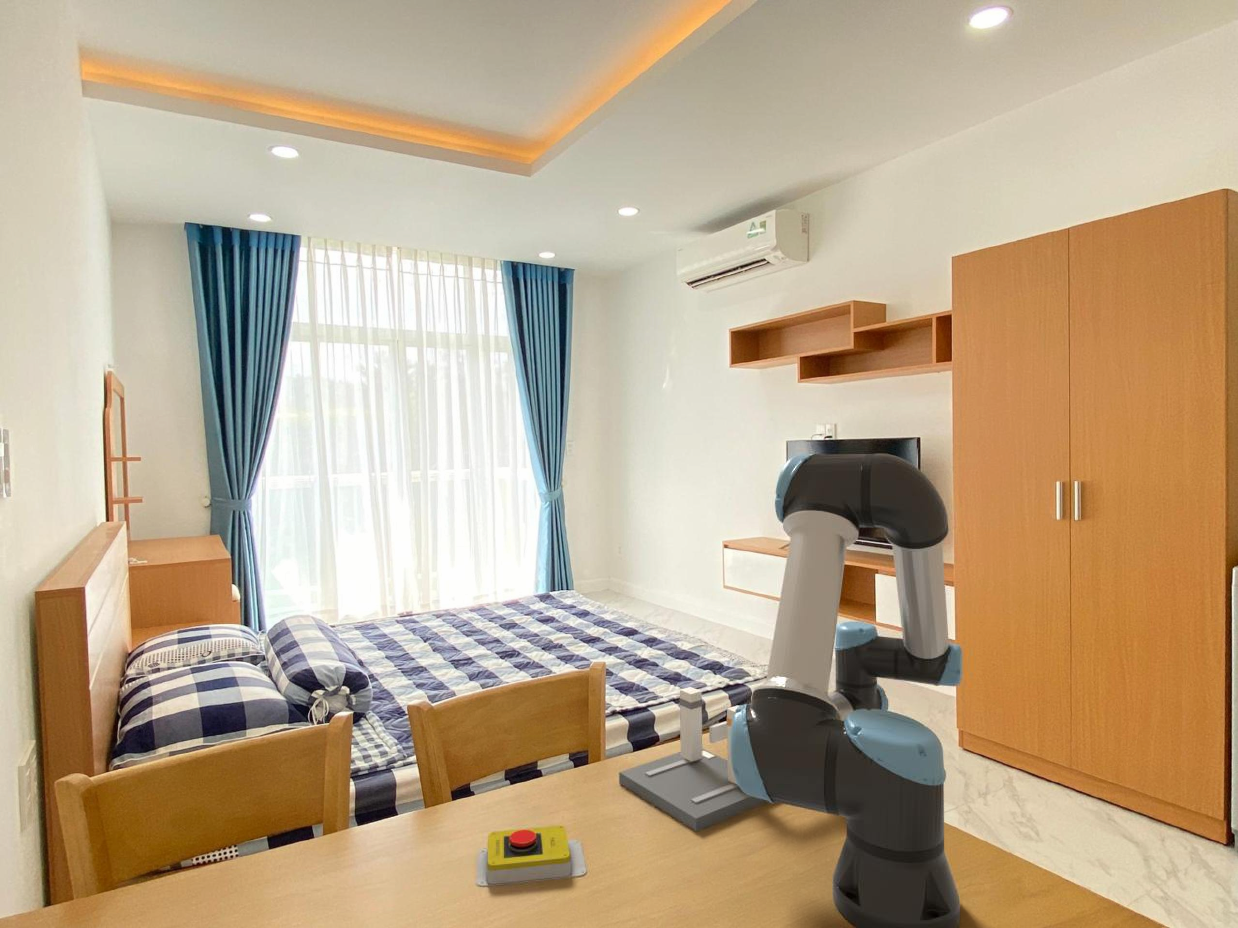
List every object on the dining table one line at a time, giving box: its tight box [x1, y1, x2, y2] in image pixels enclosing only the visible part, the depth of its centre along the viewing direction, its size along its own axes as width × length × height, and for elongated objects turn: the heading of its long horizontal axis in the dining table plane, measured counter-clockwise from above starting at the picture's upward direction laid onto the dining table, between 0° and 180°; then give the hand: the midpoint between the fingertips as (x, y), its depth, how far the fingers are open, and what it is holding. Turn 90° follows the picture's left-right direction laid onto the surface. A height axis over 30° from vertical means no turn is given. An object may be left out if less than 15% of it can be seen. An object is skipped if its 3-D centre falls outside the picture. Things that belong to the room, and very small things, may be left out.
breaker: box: [679, 686, 703, 762], centre depth 134 cm, size 3×3×12 cm
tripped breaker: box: [726, 704, 740, 785], centre depth 125 cm, size 3×3×12 cm
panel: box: [618, 748, 769, 832], centre depth 127 cm, size 18×20×2 cm
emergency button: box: [475, 824, 587, 888], centre depth 107 cm, size 9×4×15 cm
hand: (738, 747), depth 125 cm, fingers open, 13 cm apart
